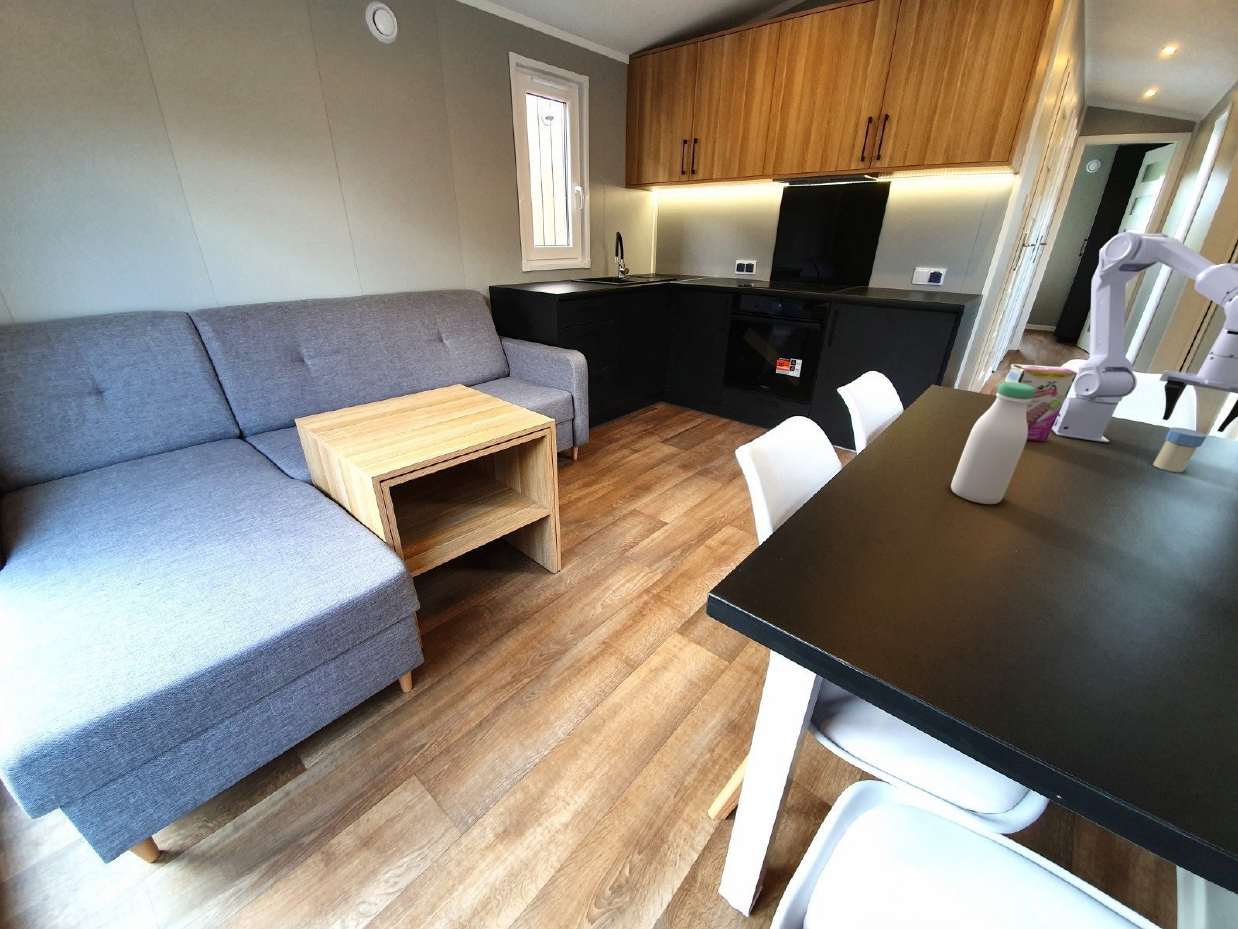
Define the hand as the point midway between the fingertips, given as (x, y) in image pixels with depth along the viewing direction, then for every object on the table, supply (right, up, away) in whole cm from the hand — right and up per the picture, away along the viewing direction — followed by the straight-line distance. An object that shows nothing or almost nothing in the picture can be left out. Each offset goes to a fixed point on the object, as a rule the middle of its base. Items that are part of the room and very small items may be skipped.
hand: (1192, 424), depth 96 cm
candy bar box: (-21, -2, +17) cm, 27 cm away
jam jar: (0, -8, +4) cm, 9 cm away
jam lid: (0, -2, +1) cm, 2 cm away
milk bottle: (-50, -13, -10) cm, 53 cm away
